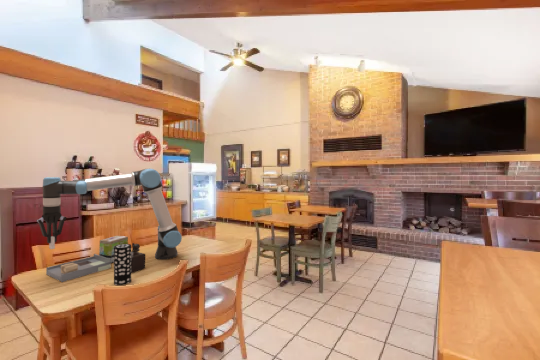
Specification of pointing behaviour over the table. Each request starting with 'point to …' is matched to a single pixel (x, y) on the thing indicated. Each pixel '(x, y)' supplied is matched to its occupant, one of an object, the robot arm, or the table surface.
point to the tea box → (111, 246)
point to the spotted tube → (122, 264)
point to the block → (69, 268)
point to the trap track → (80, 268)
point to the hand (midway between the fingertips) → (52, 248)
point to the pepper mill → (137, 259)
